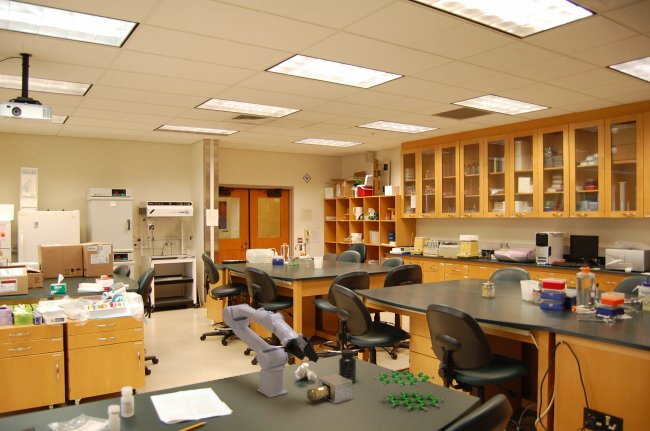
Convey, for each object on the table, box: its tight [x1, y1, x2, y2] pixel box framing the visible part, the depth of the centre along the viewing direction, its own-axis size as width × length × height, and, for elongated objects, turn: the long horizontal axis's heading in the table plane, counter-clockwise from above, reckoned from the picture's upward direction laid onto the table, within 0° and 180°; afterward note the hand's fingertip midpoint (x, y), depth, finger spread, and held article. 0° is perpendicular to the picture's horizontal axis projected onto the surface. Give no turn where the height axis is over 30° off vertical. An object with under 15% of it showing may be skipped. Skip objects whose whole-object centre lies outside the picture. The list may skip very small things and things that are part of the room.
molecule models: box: [373, 369, 445, 411], centre depth 175 cm, size 17×25×10 cm, turn 91°
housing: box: [317, 373, 353, 404], centre depth 179 cm, size 10×8×6 cm
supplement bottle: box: [338, 349, 357, 384], centre depth 196 cm, size 7×7×12 cm
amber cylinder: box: [306, 385, 331, 403], centre depth 176 cm, size 4×11×4 cm, turn 127°
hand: (310, 358), depth 168 cm, fingers open, 7 cm apart
